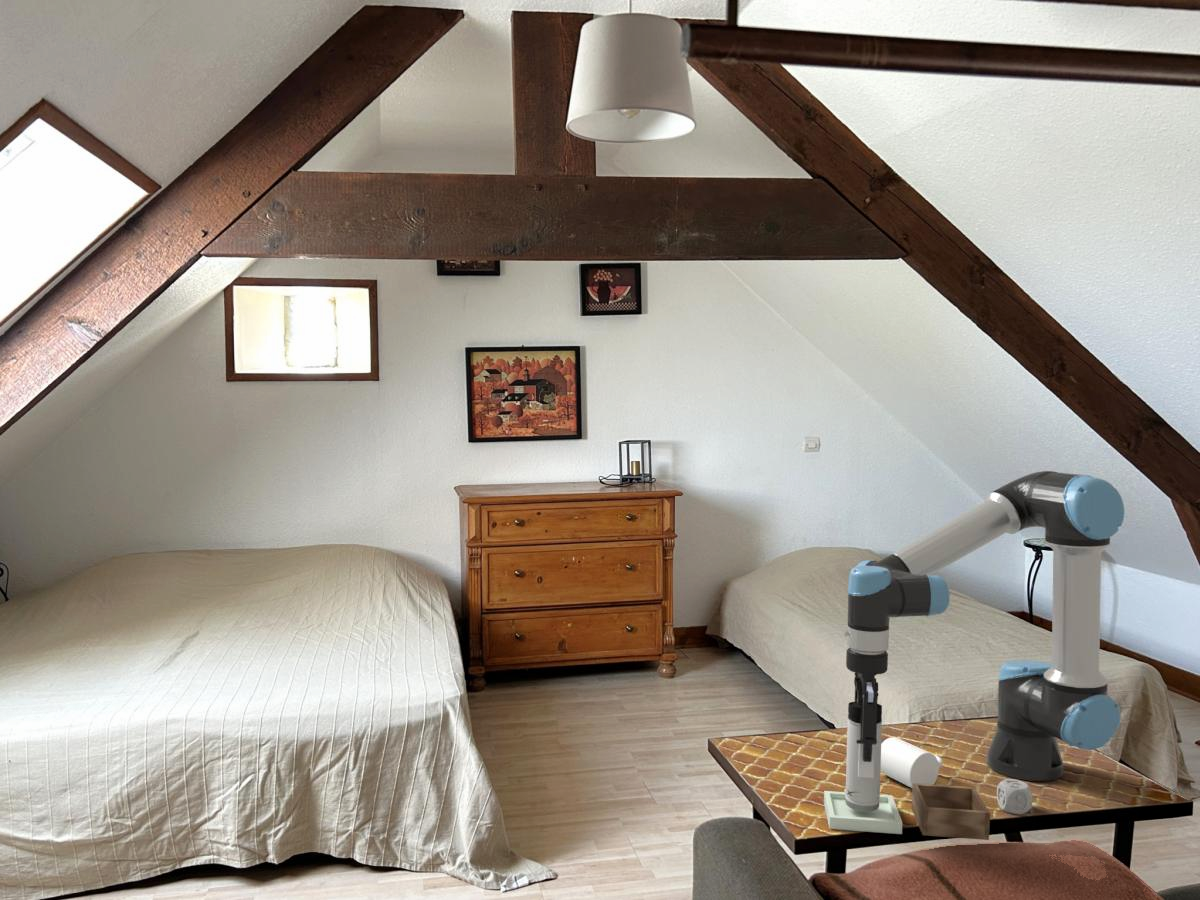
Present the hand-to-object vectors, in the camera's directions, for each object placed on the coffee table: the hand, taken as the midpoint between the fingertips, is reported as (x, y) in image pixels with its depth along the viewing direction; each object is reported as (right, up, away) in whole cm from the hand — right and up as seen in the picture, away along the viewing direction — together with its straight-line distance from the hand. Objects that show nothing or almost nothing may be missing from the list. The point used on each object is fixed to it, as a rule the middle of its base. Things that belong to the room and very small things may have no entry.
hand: (863, 769), depth 189 cm
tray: (0, -9, +1) cm, 9 cm away
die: (+31, -10, +6) cm, 33 cm away
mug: (+15, -9, +19) cm, 26 cm away
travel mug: (0, -7, 0) cm, 7 cm away
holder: (+16, -10, -1) cm, 18 cm away
